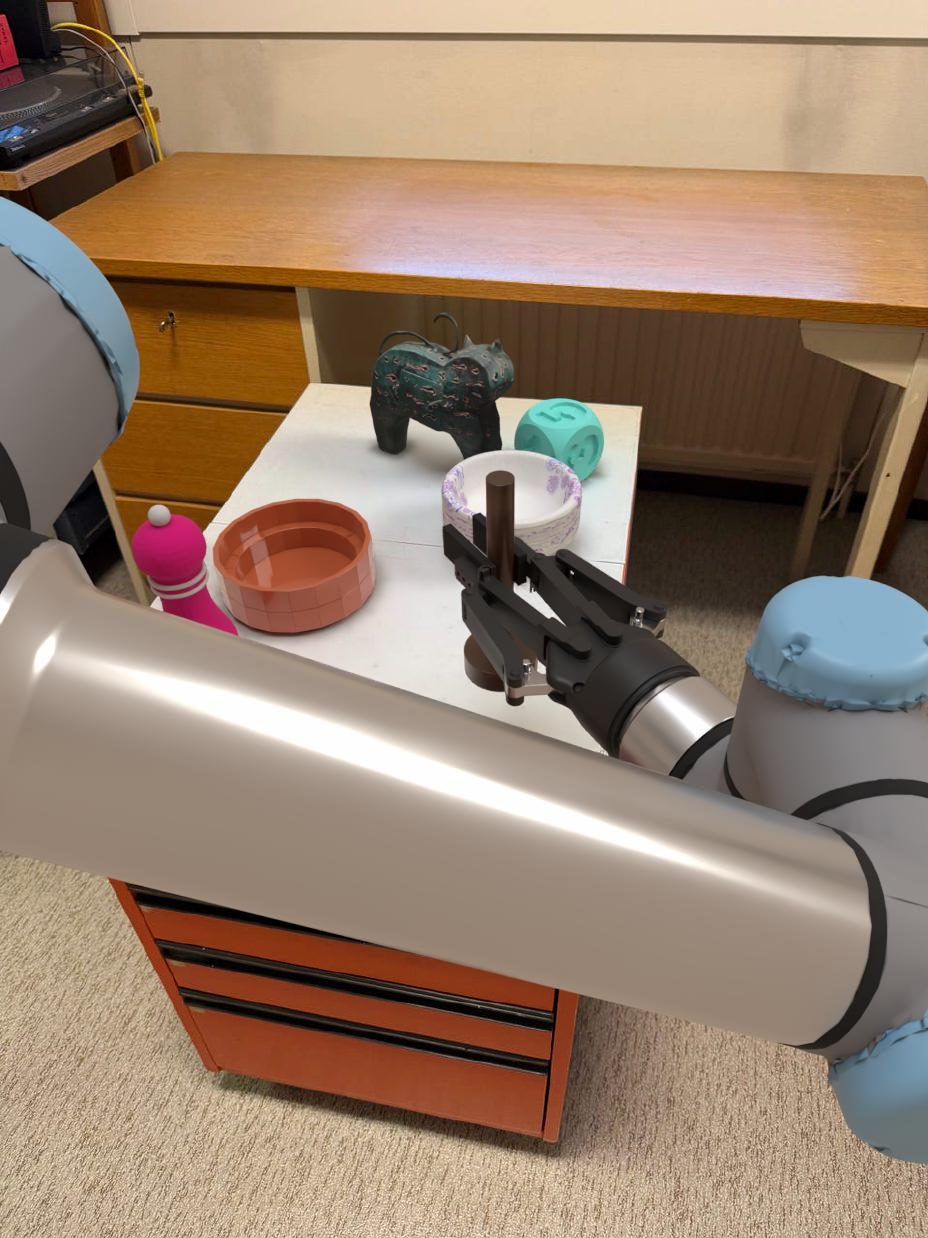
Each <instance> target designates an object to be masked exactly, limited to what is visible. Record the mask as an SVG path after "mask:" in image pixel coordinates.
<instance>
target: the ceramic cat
mask: <svg viewBox="0 0 928 1238" xmlns="http://www.w3.org/2000/svg"><path fill="white" fill-rule="evenodd" d="M440 318H445V319H447V320H449V321H450V322H451V323H452V324H453V326H454V327H455V330H456V344H455V349H452V350H450V349H448V348H447V347H445V346H444V345H441V344H439V343H435V342H430V341H429V340H427V339H426V338H425V337H424V336H422V335H420V334H418V333H416V332H414V331H407V330H396V331H392V332H390V333H389V334H387V335H386V336H385V337H384V338H383V340H382V342H381V344H380V347H379V352H378V356H379V357H378V358H377V359H376V361H375V363H374V365H373V368H372V373H371V379H370V398H369V409H370V415H371V418H372V425H373V430H374V434H375V437H376V443H377V446H378V448H379V449H380V450H382V451H383V452H386V453H389V454H391V455H398V454H399V453H400V452H402V451H404V450H405V449H406V448H407V441H408V430H409V425H410V421H411V420H413V421H415V422H417V423H419V424H421V425H423V426H425V427H427V428H429V429H430V430H433V431H434V432H439V433H440V432H444V433H447V434H448V435H450V437H451V438H452V440H453V441H454V443H455V445H456V446H457V448H458V449H459V451H460V454H461V455H462V461H463V460H465V459H467V458H470V457H472V456H475V455H478V454H482V453H486V452H491V451H500V450H503V439H502V436H501V417H500V412H499V410H498V407H497V402H496V401H498V400H499V399H500V398H501V397H502V396H504V395H505V394H507V393H508V392H509V391H510V390H511V389H512V387H513V384H514V381H515V369H514V368H515V367H514V364H513V362H512V360H511V358H510V357H509V356H508V354H506V352H505V351H504V349H503V345H502V344H503V343H502V341H501V340H500V338H497V339H495V340H494V341H493V342H492V343H491V344H488V343H480V344H474V343H473V341H472V340H471V337H470V336H469V335H468V334H466V335H465V337H464V339H463V343H462V344H463V345H462V347H461V349H460V332H459V331H460V330H459V326H458V324H457V323H458V322H457V321H456V320H455V319H454V317H453V316H452V315H450V314H449V313H448V312H442V313H439V314H438V315H436V316H435V317H434V319H433V323H434V324H436V322H437V321H438V320H439V319H440ZM395 336H413V337H415V338H417V339H419V340H421V341H420V342H418V341H412V340H408V341H407V340H406V341H404V342H400V343H398V344H395V345H393V346H392V347H391V348H389V349H388V350H386V351H384V352H383V349H384V346H385V344H386V343H387V342H388V341H389V340H390V339H392V338H393V337H395Z"/></svg>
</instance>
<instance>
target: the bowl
mask: <svg viewBox="0 0 928 1238" xmlns="http://www.w3.org/2000/svg"><path fill="white" fill-rule="evenodd" d="M373 548H374V546H373V538H372V533H371V531H370V527H369V523H368V521H367V520H366V519H365V518H364V517H363V516H362V515H361V514H360V513H359V511H357V510H355V509H353V508H351V507H349V506H347V505H345V504H343V503H341V502H337V501H332V500H328V499H322V498H292V499H285V500H279V501H273V502H270V503H268V504H264V505H262V506H261V505H260V506H259V507H256V508H252V509H251V510H249V511H247V512H245V513H244V514H242V515H240V516H238V517H237V518H235V519H234V520H232V521H231V522H230V523H229V524H228V525H227V526H226V527H225V528H224V529H223V530H221V532H220V533H219V534H218V535H217V538H216V540H215V543H214V544H213V547H212V560H213V561H212V562H213V566H214V570H215V573H216V577H217V580H218V584H219V587H220V591H221V595H222V598H223V601H224V604H225V606H226V607H227V609H228V610H229V612H230V614H232V617H234V618H235V619H237V620H238V621H240V622H242V623H243V624H245V625H246V626H248V627H250V628H253V629H259V630H261V631H266V632H269V633H300V632H306V631H312V630H316V629H321V628H325V627H327V626H329V625H332V624H334V623H336V622H338V621H341V620H343V619H346V618H347V617H348V616H349V615H352V614H353V613H354V612H355V611H356V610H359V608H361V607H362V606H363V605H364V604H365V602H366V601H367V600H368V598H369V597H370V595H371V594H372V593H373V591H374V588H375V583H376V578H377V570H376V562H375V555H374V554H375V553H374V549H373Z"/></svg>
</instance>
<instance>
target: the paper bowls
mask: <svg viewBox="0 0 928 1238" xmlns="http://www.w3.org/2000/svg"><path fill="white" fill-rule="evenodd" d="M498 470H503V471H508V472H510V473H512V474H513V475H514V477H515V513H514V536H516V537H518V538H520V539H522V540H523V541H524V542H525V543H526V544H527V545H529V546H530V547H531V548H532V549H533V550H534V551H535V552H537V553H543V554H545V555H546V556H553V555H555V553H556V551H557V550H559V549H565V548H566V547H567V546H569V545H570V544H571V543H572V541H573V539H575V536H576V535H577V534H578V530H579V527H580V526H579V525H580V522H581V521H580V520H581V509H582V499H583V486H582V483H581V482H582V481H581V482H580V480H579V479H578V477H577V475H576V474H575V472H574V471H573V470H572V469H570V468H569V467H568V466H567V465H565V464H564V463H562V462H560V461H558V460H556V459H554V458H552V457H549V456H546V455H543V454H539V453H535V452H529V451H520V450H515V449H502V450H500V451H491V452H486V453H482V454H478V455H475V456H472V457H470V458H467V459H465V460H463V459H462V460H461V461H460V462H458V463H456V465H454V466H453V467H451V469H449V470H448V472H447V473H446V475H445V476H444V478H443V481H442V485H441V511H442V523H443V526H445V525H447V524H450V523H451V524H452V525H453V526H454V527H455V528H456V529H457V530H458V531H459V532H460V533H462V534H463V535H464V536H465V537H466V538H467V539H468V540H469V541H470V542H471V543H472V544H473V526H472V515H474V514H477V513H480V512H481V513H482V514H483V515H484V516H485V517H486V476H487V475H488V474H489V473H491V472H493V471H498ZM473 545H474V544H473ZM474 546H475V545H474ZM475 547H476V546H475ZM476 548H477V547H476ZM478 549H479V548H478ZM479 550H480V549H479ZM480 551H481V550H480ZM481 552H482V551H481ZM482 553H483V552H482ZM483 554H484V553H483ZM484 555H485V554H484ZM485 556H486V555H485ZM486 557H487V556H486Z"/></svg>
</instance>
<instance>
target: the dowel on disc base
mask: <svg viewBox="0 0 928 1238" xmlns="http://www.w3.org/2000/svg"><path fill="white" fill-rule="evenodd" d="M514 513H515V477H514V475H513V474H512V473H510V472H508V471H503V470H498V471H493V472H491V473H489V474H488V475H487V476H486V529H487V558H488V559H489V560H490V561H491V562H492V563H493V564H495V565H496V579H498V580H499V581H500V582H502V583H503V584H504V585H506V586H507V587H508V588H509V589H511V590H512V591H513V592H515V582H514ZM505 630H506V631H507V633H508V634H509V635H510V637H511V638H512V640H513V641H514V643H515V644H516V645H517V647H518V649H519V650H520V652H521V655H522V659H523V660H524V659H528V660H530V661H531V665H532V666H534V668H535V669H536V671H537V672H538V669H539V668H538V667H539V663H538V662H539V661H538V659H537V657H536V654H535V653H534V652H533V651H532V650H531V649H530V648H528V647H527V646H526V645H525V644H524V643H522V642H521V641H520V640H519V639H518V638H516V637H515V636H514V635H513V634H511V633H510V632H509V631H508V630H507V629H505ZM463 663H464V665H463V666H464V672H465V674H466V676H467V678H468V679H469V681H470V682H471V683H473V685H475V686H476V687H478V688H481V689H483V690H485V691H487V692H494V693H505V690H504V682H503V681H502V679H501V678H500V676H499V675H498V673H497V672H496V670H495V669H494V667H493V666H492V664H491V663H490V661H489V659H488V658H487V656H486V655H485V653H484V652H483V650H482V649H481V647H480V646H479V644H478V643H477V641H476V640H475V638H474V637H473V635H472V634H471V633H470V635H469V636H468V637H467V638H466V641H465V642H464V646H463Z"/></svg>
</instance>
